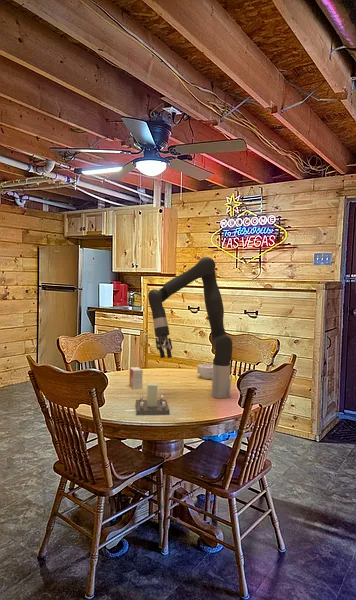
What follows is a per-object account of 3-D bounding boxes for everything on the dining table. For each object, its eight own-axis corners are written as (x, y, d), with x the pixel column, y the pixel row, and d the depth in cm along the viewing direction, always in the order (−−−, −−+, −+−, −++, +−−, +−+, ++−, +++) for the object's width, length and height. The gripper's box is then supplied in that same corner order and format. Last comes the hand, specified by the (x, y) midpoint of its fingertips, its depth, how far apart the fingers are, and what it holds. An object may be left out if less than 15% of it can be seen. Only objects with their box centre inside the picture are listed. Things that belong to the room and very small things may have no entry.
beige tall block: (156, 403, 202) (157, 382, 202) (156, 406, 197) (157, 385, 197) (147, 403, 202) (147, 382, 201) (147, 406, 197) (147, 385, 196)
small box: (129, 385, 242) (129, 367, 241) (138, 384, 244) (138, 366, 243) (132, 389, 234) (133, 370, 234) (142, 388, 236) (142, 369, 236)
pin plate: (166, 403, 209) (166, 393, 208) (169, 414, 192) (169, 404, 192) (135, 403, 207) (136, 393, 207) (136, 415, 190) (136, 404, 190)
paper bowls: (209, 373, 277) (210, 362, 277) (226, 378, 266) (226, 366, 265) (192, 376, 268) (192, 364, 267) (208, 381, 256) (208, 368, 256)
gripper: (161, 324, 211) (167, 356, 208) (173, 326, 224) (178, 356, 221) (148, 327, 214) (153, 359, 211) (160, 329, 227) (165, 359, 223)
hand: (166, 357), depth 216 cm, fingers open, 8 cm apart
